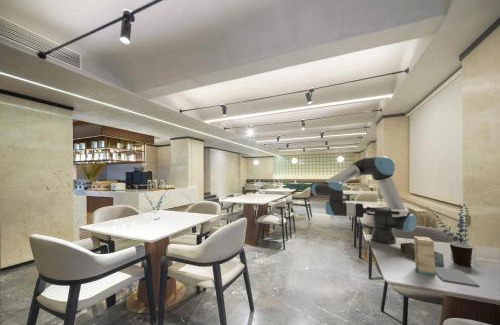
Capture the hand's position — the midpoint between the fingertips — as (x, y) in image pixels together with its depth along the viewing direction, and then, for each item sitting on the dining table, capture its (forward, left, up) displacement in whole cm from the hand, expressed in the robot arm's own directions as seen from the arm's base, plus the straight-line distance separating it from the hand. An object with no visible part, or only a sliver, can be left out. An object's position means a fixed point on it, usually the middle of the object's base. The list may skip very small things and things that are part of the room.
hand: (406, 213), depth 106 cm
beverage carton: (-20, +10, -28) cm, 36 cm away
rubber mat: (0, +16, -28) cm, 32 cm away
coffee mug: (-20, +28, -28) cm, 45 cm away
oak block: (0, +6, -28) cm, 29 cm away
